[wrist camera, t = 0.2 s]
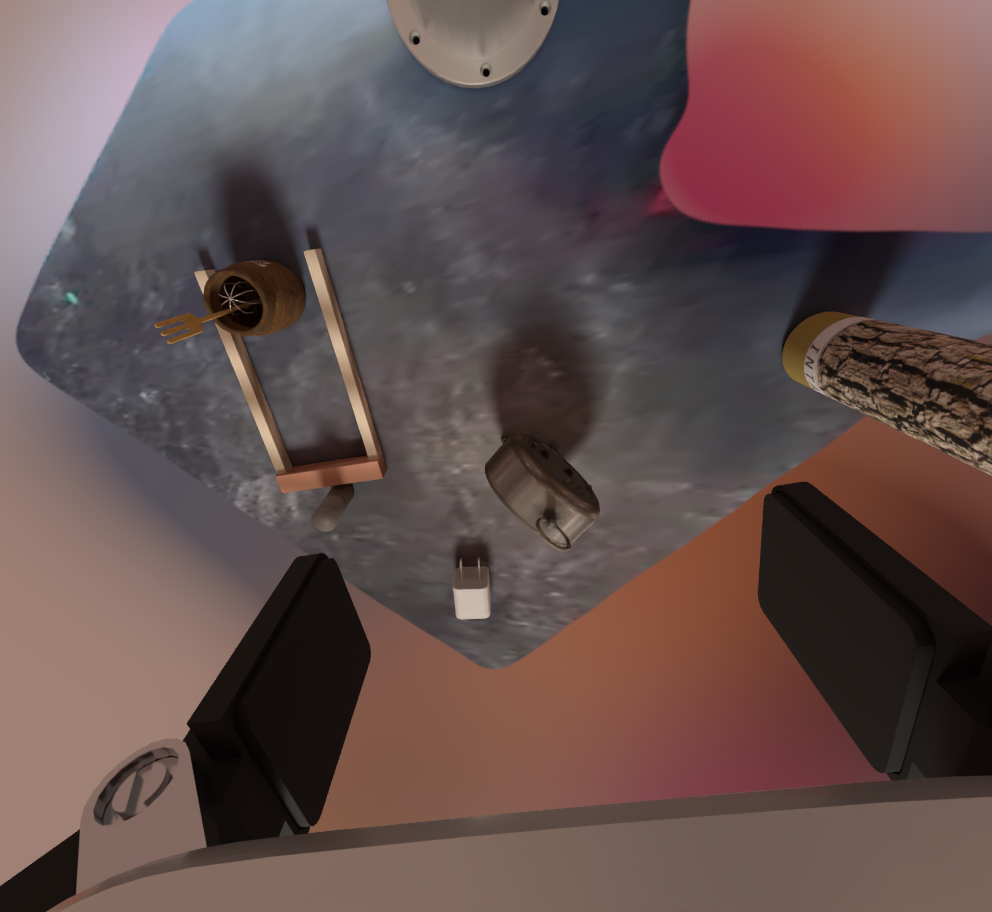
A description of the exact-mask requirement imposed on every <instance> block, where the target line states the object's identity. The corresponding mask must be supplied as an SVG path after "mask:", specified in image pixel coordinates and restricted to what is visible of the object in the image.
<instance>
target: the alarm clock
mask: <svg viewBox="0 0 992 912" xmlns="http://www.w3.org/2000/svg"><path fill="white" fill-rule="evenodd" d="M501 442H502V443H503V445H502V446H501V447H500V448H499V449H498V450H497V452H496V453H495V454H494V455H493V456H492V457H491V458H490V459H489V461H488V462H487V463H486V465H485V474H486V477H487V480H488V482H489V484H490V486H491V488H492V489H493V490H494V492H495V494H496V495H497V496H498V498H499V499H500V500H501V501H502V503H503V504H504V505H505V506H506V507H507V508H508V509H509V510H510V512H511V513H512V514H513V515H514V516H515V517H516V518H517V519H518V520H519V521H521V522H522V523H523V524H524V525H525V526H527V527H528V528H529V529H530V530H532V531H533V532H535V533H536V534H538V535H539V536H541V537H542V538H543V540H544V541H546V542H547V543H548V544H549V545H550V546H552V547H553V548H555V549H557V550H559V551H562V552H567V551H569V550H570V548H571V544H573V543H574V541H575V540H576V539H577V538H578V537H579V536H580V535H581V534H582V533H583V532H584V531H585V530H586V529H587V528H588V527H589V526H590V525H591V524H592V523H593V522H594V521H595V520H596V519H597V518H598V516H599V512H600V507H599V502H598V499H597V497H596V495H595V493H594V492H593V490H592V486H591V485H589V484H588V483H587V482H586V481H585V480H584V478H583V477H582V476H581V475H580V474H579V473H578V472H577V471H576V470H575V469H574V468H573V467H572V466H571V465H570V464H569V463H568V462H567V461H566V460H565V459H564V458H563V457H561V456H560V455H559V453H558V452H557V447H558V444H557V442H556V441H553V443H552V446H551V448H550V447H549V446H547V445H546V444H544V443H543V442H541V441H540V440H538V439H536V438H534V437H532V436H529V435H526V434H515V435H512V436H510V437H509V438H508V439H506V438H502V439H501ZM556 544H557V545H556ZM558 545H560V546H567V547H565V548H563V547H560V546H558Z"/></svg>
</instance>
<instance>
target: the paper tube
mask: <svg viewBox="0 0 992 912" xmlns="http://www.w3.org/2000/svg"><path fill="white" fill-rule="evenodd" d="M782 362H783V366H784V369H785V371H786V372H787V374H788V375H789V376H790V377H791V378H792V379H794V380H795V381H797V382H799V383H801V384H803V385H805V386H807V387H809V388H811V389H814V390H816V391H817V392H819V393H821V394H823V395H825V396H827V397H830V398H832V399H834V400H836V401H838V402H840V403H842V404H844V405H846V406H848V407H850V408H852V409H855V410H857V411H859V412H861V413H863V414H865V415H867V416H869V417H871V418H873V419H875V420H877V421H880V422H882V423H884V424H886V425H888V426H890V427H892V428H894V429H896V430H899V431H901V432H902V433H905V434H907V435H909V436H911V437H913V438H915V439H917V440H919V441H921V442H923V443H925V444H927V445H929V446H932V447H934V448H936V449H938V450H940V451H942V452H944V453H946V454H948V455H950V456H952V457H954V458H957V459H959V460H961V461H963V462H965V463H967V464H969V465H971V466H973V467H975V468H977V469H980V470H982V471H984V472H986V473H988V474H990V475H992V344H988V343H983V342H978V341H974V340H969V339H964V338H960V337H955V336H950V335H945V334H941V333H936V332H931V331H926V330H922V329H917V328H912V327H908V326H903V325H898V324H893V323H889V322H884V321H879V320H875V319H870V318H865V317H859V316H854V315H849V314H845V313H840V312H822V313H818V314H815V315H813V316H811V317H809V318H807V319H805V320H804V321H802V322H801V323H800V324H799V325H798V326H797V327H796V328H795V329H794V330H793V331H792V332H791V333H790V335H789V336H788V338H787V340H786V342H785V345H784V348H783V353H782Z"/></svg>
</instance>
